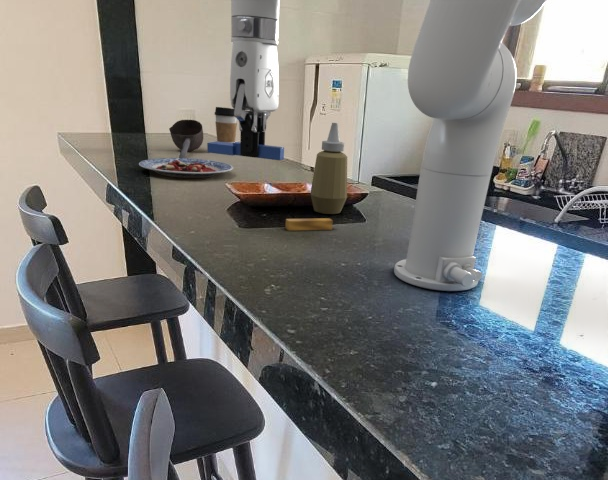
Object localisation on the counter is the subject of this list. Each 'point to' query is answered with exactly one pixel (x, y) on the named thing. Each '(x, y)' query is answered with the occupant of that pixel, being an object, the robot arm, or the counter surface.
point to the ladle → (187, 136)
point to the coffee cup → (225, 124)
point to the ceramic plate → (186, 167)
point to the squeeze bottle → (330, 175)
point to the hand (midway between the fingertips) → (252, 155)
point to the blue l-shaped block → (234, 149)
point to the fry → (309, 224)
